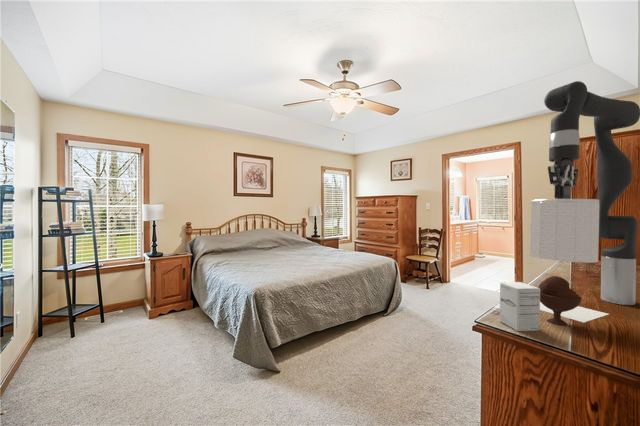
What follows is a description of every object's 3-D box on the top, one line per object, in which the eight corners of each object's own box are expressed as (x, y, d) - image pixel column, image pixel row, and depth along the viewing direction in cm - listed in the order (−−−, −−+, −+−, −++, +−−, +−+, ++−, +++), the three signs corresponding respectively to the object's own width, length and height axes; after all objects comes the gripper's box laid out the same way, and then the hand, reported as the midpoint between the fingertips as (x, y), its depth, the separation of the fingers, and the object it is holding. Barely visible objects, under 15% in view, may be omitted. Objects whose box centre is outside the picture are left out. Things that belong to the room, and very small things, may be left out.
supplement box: (498, 321, 89) (499, 281, 88) (520, 320, 89) (520, 281, 89) (516, 331, 81) (517, 288, 81) (540, 330, 82) (541, 287, 82)
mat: (550, 300, 109) (550, 299, 109) (609, 315, 94) (609, 314, 94) (524, 306, 102) (524, 305, 102) (583, 324, 87) (583, 322, 87)
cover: (546, 253, 103) (547, 189, 103) (608, 261, 88) (610, 186, 88) (518, 255, 96) (519, 186, 96) (580, 263, 81) (582, 182, 81)
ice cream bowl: (590, 333, 81) (591, 281, 80) (546, 329, 83) (547, 278, 83) (566, 318, 91) (567, 272, 91) (527, 316, 93) (528, 271, 93)
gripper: (561, 151, 99) (560, 199, 98) (538, 145, 93) (537, 197, 93) (589, 146, 92) (588, 198, 92) (566, 140, 86) (564, 196, 86)
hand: (562, 198), depth 92 cm, fingers closed on cover, 4 cm apart
